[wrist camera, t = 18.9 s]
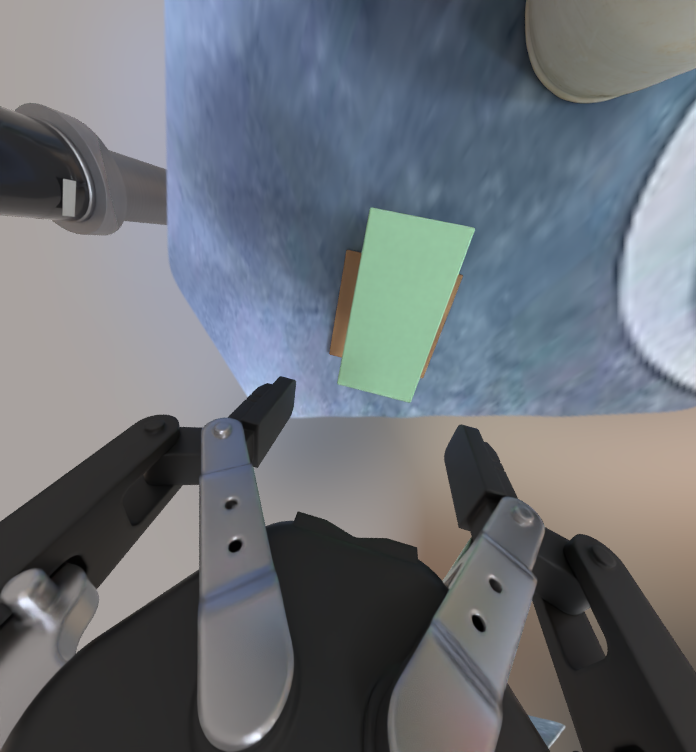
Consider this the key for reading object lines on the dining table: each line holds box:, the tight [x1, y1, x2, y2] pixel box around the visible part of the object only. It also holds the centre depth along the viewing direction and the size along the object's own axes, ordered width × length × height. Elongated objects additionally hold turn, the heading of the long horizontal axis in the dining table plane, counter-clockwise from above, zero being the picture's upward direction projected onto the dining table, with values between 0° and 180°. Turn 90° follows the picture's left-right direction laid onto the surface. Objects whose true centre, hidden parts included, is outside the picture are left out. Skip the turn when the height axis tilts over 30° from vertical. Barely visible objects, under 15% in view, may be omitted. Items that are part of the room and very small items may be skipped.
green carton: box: [337, 208, 475, 403], centre depth 20 cm, size 5×14×10 cm
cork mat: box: [329, 250, 463, 378], centre depth 28 cm, size 12×12×1 cm
